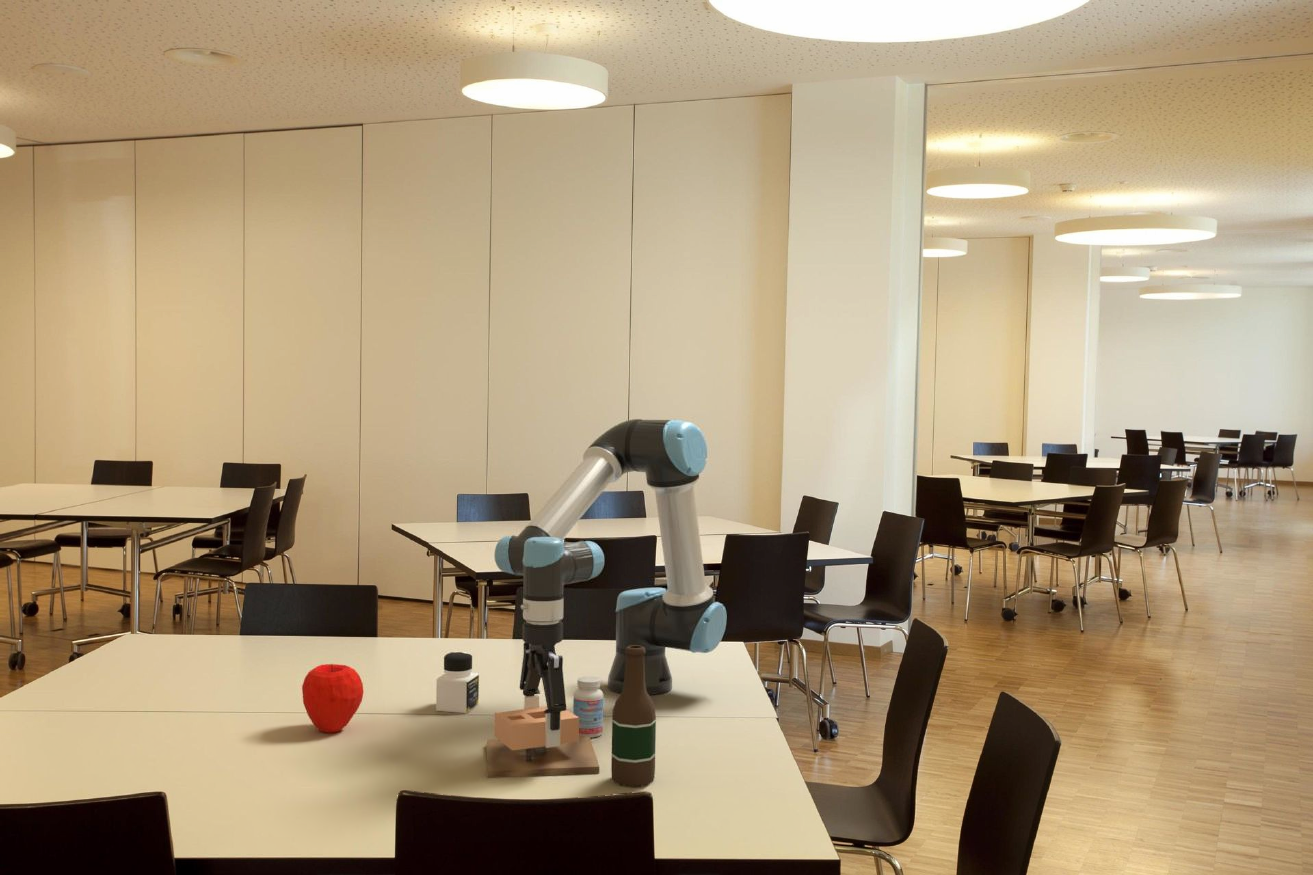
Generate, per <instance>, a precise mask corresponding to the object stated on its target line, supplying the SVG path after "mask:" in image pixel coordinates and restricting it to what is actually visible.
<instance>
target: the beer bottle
mask: <svg viewBox="0 0 1313 875" xmlns="http://www.w3.org/2000/svg"><path fill="white" fill-rule="evenodd" d="M624 653H626V664H625V677H624V686H623V691H622V693H619V694H620V695H619V696H618V698H617V699H616V701H615V703H614V706H613V708H612V718H611V762H610V763H611V764H610V765H611V769H610V771H611V779H612V782H614V783H615V784H617V785H619V786H620V787H627V788H639V787H645V786H649V785H650V784H651V783H652V782H653V781H654V779H655V773H656V740H657V739H656V738H657V737H656V736H657V735H656V733H657V732H656V730H657V716H656V715H657V714H656V707H655V704H654V702H653V699H652V697H651V696H650V695H649V694H648V693H647V690H646V684H645V664H644V654H645V653H646V651H645V647H642V646H640V645H630V646H628V647H626V649H625V652H624Z"/></svg>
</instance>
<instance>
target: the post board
mask: <svg viewBox="0 0 1313 875" xmlns="http://www.w3.org/2000/svg"><path fill="white" fill-rule="evenodd" d="M486 766H487V767H486V769H487V770H486V771H487V772H486V773H487V778H501V777H502V778H505V777H507V778H509V777H531V776H534V777H536V776H558V775H559V776H561V775H584V774H587V775H588V774H600V765H599V760H598V758H597V755H596V753H595V749H594V745H593V743H592V739H591V738H590V737H589V736H581V737H579V742H573V743H565V744H560V746H557V747H550V748H546V747H545V746H543V747H536V748H528V749H521V750H513V751H512V750H511V749H510V748H508V747H507V746H506V745H505V744H503V743H502V742H501V741H499V740H498V739H497V738H493V739H486Z"/></svg>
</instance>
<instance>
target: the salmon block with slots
mask: <svg viewBox="0 0 1313 875" xmlns="http://www.w3.org/2000/svg"><path fill="white" fill-rule="evenodd" d="M546 709H547V706H542V707H539V708H533V709H517V710H509V711H498V712H494V738H495V739H498V740H499V741H501V742H502V743H503V744H505V745H506V746H507V747H508V748H510V749H511V750H512V751H513V750H521V749H528V748H536V747H543V746H545V713H544V711H545V710H546ZM573 742H579V717H577V716H576V715H574V714H573V713H572V712H571V711H569V710H567V709H566V711H561V732H560V744H565V743H573Z"/></svg>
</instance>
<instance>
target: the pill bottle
mask: <svg viewBox="0 0 1313 875" xmlns="http://www.w3.org/2000/svg"><path fill="white" fill-rule="evenodd" d="M576 681H577V682H576V683H577V684H576V685H577V689H576V690H575V691H574V692H573V700H572V701H573V707H572V709H573V711H572V712H573V713H572V714H574V715H576V716H577V717H579V737H581V736H589V737H590V739H591V738H597V737H600V736H602V734H603V731H604V730H603V729H604V726H603V725H604V693H603V691H602V689H600V687H601V678H599V677H597V676H589V675H588V676H581V677H578V678H577V680H576Z"/></svg>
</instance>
